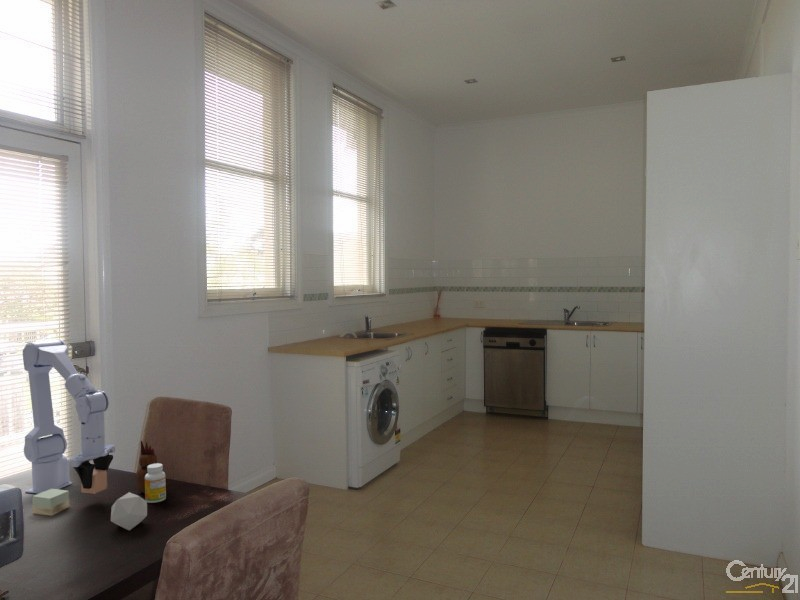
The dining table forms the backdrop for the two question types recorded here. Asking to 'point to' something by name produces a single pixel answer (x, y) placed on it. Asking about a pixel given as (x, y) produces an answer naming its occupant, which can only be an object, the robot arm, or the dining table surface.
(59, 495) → the tower top block
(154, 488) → the supplement bottle
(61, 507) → the tower base block
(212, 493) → the dining table surface
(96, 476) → the terracotta block
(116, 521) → the die
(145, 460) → the wooden figurine
